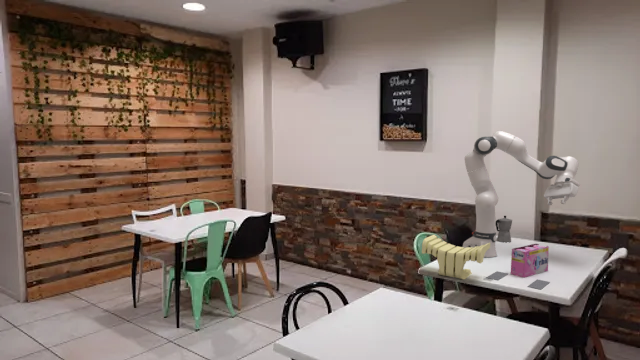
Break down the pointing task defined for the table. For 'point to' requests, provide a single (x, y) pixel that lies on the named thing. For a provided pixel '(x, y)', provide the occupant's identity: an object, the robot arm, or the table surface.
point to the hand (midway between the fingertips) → (555, 204)
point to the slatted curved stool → (453, 256)
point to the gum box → (529, 260)
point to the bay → (536, 284)
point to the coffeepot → (504, 229)
